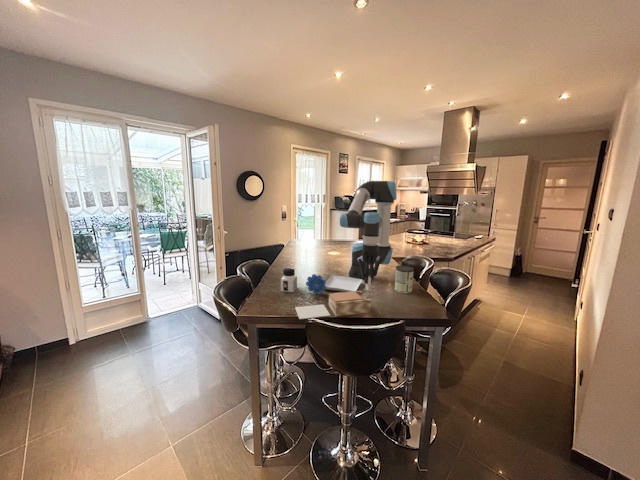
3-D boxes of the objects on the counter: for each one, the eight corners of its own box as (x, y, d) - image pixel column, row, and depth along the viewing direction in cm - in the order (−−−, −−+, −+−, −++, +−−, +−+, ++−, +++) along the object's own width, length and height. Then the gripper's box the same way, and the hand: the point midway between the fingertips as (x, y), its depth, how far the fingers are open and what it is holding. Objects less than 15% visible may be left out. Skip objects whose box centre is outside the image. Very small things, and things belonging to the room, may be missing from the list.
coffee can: (395, 285, 165) (397, 264, 162) (412, 288, 161) (414, 266, 158) (392, 291, 156) (394, 268, 153) (411, 294, 152) (413, 271, 149)
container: (293, 292, 152) (293, 271, 150) (280, 291, 154) (280, 270, 151) (297, 287, 160) (297, 267, 157) (285, 286, 161) (284, 266, 159)
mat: (323, 305, 137) (323, 304, 137) (330, 315, 125) (330, 315, 125) (295, 308, 133) (295, 307, 133) (299, 319, 122) (299, 318, 122)
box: (360, 302, 141) (361, 290, 140) (370, 312, 130) (371, 299, 128) (328, 305, 136) (328, 293, 135) (335, 316, 125) (336, 303, 124)
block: (355, 295, 137) (355, 291, 137) (361, 302, 129) (362, 298, 129) (329, 297, 134) (329, 294, 133) (335, 305, 126) (335, 301, 125)
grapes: (306, 297, 146) (306, 277, 143) (305, 292, 152) (305, 273, 150) (327, 296, 148) (327, 276, 145) (325, 291, 154) (325, 272, 152)
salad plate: (355, 296, 149) (356, 290, 148) (320, 290, 156) (320, 285, 156) (363, 284, 169) (363, 278, 168) (331, 279, 176) (331, 274, 175)
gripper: (378, 242, 134) (376, 285, 139) (355, 242, 131) (353, 287, 135) (386, 245, 127) (383, 291, 131) (361, 246, 124) (358, 293, 128)
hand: (367, 289), depth 133 cm, fingers closed
